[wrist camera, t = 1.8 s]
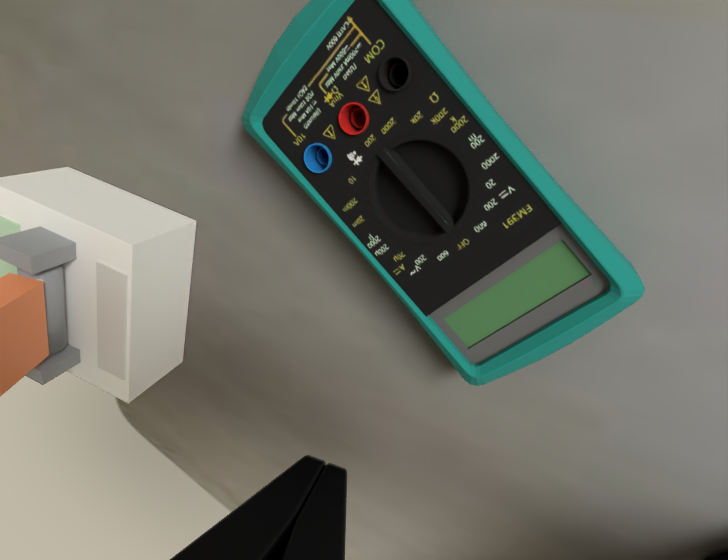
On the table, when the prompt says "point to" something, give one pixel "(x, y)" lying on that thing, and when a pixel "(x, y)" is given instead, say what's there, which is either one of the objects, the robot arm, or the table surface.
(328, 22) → the digital multimeter
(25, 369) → the lever
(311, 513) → the robot arm
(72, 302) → the switch base
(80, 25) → the table surface
